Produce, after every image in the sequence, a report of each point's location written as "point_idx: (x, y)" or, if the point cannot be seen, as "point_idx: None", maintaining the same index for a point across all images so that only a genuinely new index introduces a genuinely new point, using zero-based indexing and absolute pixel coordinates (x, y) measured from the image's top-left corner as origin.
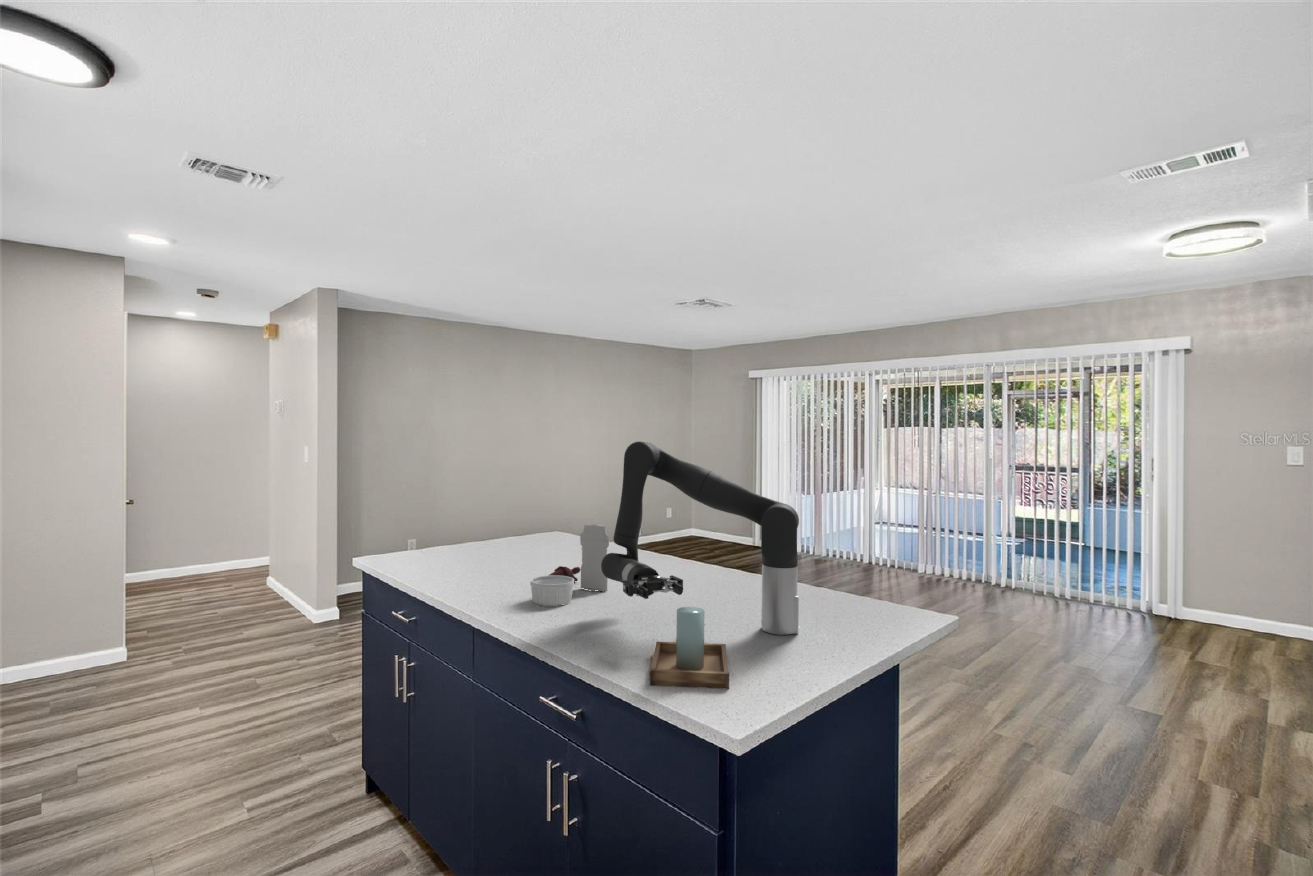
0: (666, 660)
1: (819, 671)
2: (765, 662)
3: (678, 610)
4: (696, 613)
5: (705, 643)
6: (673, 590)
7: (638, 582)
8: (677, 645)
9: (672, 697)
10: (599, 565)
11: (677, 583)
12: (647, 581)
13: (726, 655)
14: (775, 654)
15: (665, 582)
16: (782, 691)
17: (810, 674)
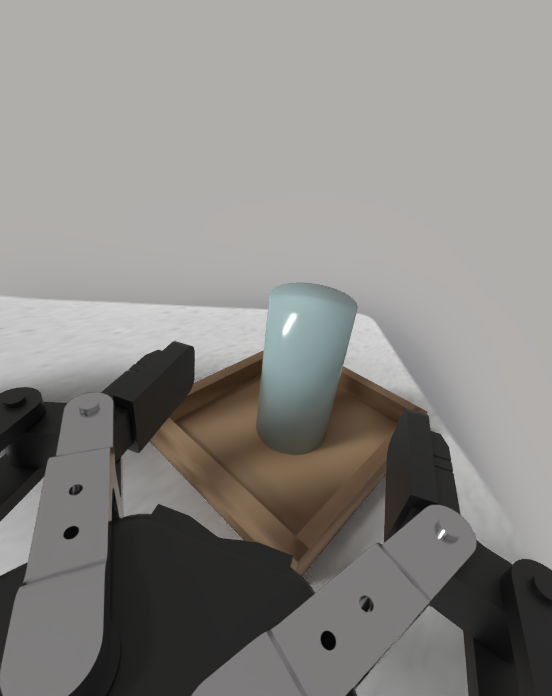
0: (320, 484)
1: (107, 321)
2: (118, 375)
3: (347, 312)
4: (317, 286)
5: (176, 441)
6: (140, 442)
7: (430, 598)
8: (335, 394)
9: (393, 388)
10: None
11: (137, 373)
12: (253, 634)
13: (217, 373)
14: (47, 383)
15: (115, 482)
16: (227, 324)
17: (131, 324)
